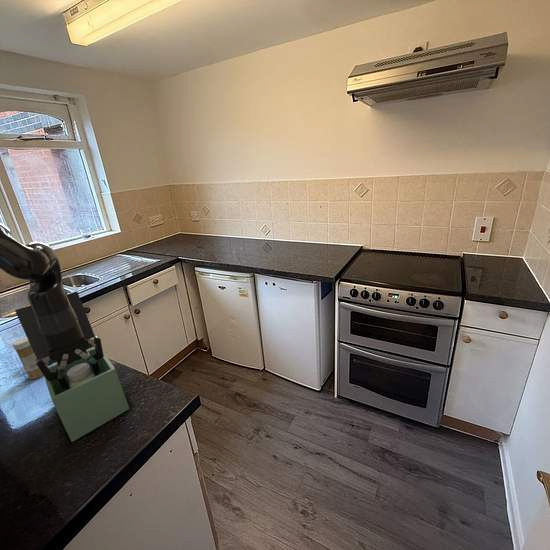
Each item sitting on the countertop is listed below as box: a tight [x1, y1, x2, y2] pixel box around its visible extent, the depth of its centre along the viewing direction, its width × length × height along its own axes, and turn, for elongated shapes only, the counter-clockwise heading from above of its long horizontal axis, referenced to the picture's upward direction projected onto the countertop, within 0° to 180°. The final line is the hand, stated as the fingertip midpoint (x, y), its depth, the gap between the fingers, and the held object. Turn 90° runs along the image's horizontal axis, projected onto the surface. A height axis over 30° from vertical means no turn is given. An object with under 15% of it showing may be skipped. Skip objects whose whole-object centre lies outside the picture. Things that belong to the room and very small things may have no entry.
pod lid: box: [14, 290, 95, 367], centre depth 80 cm, size 16×14×1 cm
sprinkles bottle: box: [12, 336, 44, 380], centre depth 95 cm, size 5×5×13 cm
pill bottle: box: [67, 363, 95, 388], centre depth 79 cm, size 6×6×11 cm
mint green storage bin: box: [43, 347, 130, 443], centre depth 79 cm, size 16×14×13 cm
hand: (82, 380), depth 78 cm, fingers closed on pill bottle, 6 cm apart
